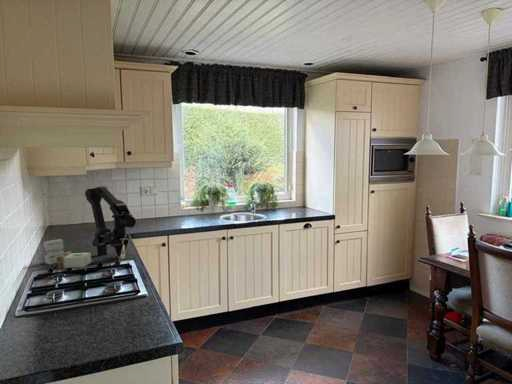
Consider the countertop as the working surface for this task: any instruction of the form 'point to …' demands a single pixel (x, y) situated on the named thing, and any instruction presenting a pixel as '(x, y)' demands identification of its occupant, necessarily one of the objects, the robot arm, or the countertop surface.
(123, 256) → the dowel
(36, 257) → the countertop surface
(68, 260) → the socket block
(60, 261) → the wall board
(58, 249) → the ink box
